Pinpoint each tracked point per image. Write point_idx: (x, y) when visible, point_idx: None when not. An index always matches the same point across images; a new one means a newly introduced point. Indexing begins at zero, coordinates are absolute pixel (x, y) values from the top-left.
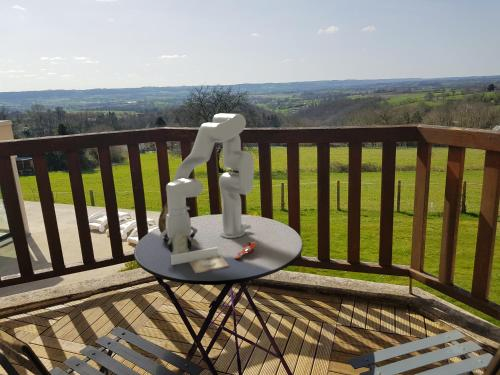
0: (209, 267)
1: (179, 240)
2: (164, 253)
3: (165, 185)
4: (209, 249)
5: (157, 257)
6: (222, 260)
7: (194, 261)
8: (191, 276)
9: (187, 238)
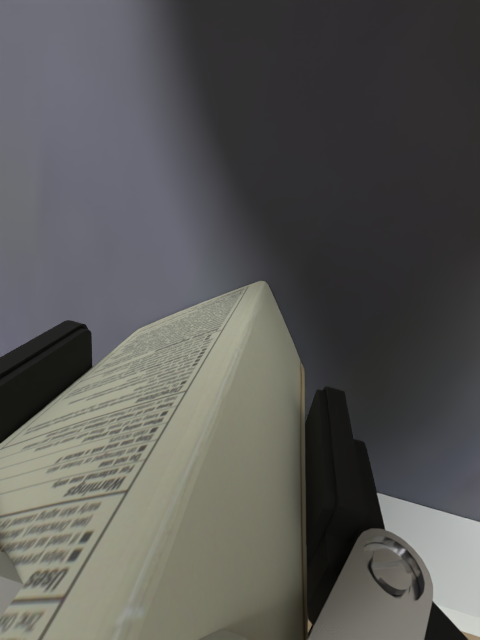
0: (310, 625)
1: None
2: (91, 141)
3: None
4: (473, 632)
5: (11, 208)
6: (462, 631)
7: None
8: None
9: (304, 593)
